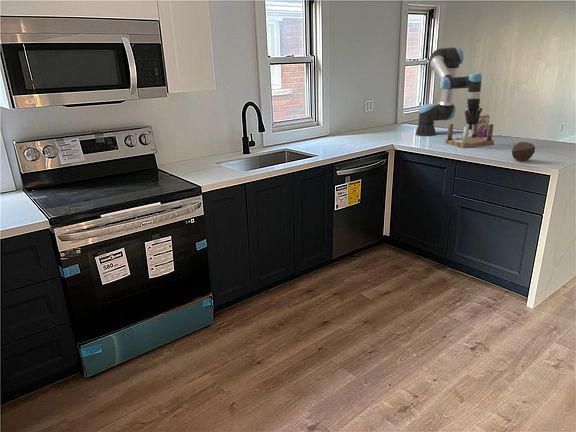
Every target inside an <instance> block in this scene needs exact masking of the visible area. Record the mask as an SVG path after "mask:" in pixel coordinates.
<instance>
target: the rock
mask: <svg viewBox="0 0 576 432" xmlns="http://www.w3.org/2000/svg"><path fill="white" fill-rule="evenodd" d="M535 150H536V147H535V144H533V143H531V142H527V141H520V142H518V143H516V144H514V146H513V147H512V150H511V155H512V158H513V159H514V160H515V161H517V162H522V161H527V162H528V161H529V160H530V159H531V158H532V157H533V155H534V154H535V152H536V151H535Z"/></svg>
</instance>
